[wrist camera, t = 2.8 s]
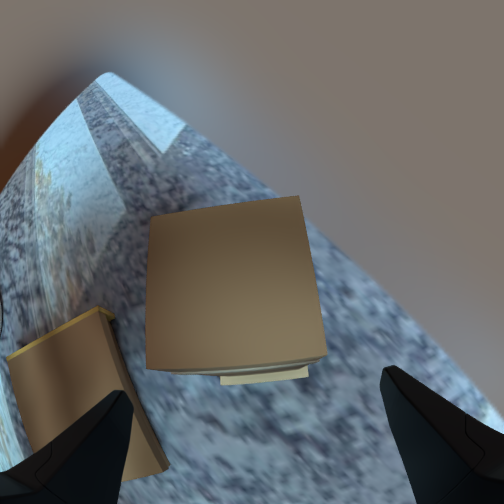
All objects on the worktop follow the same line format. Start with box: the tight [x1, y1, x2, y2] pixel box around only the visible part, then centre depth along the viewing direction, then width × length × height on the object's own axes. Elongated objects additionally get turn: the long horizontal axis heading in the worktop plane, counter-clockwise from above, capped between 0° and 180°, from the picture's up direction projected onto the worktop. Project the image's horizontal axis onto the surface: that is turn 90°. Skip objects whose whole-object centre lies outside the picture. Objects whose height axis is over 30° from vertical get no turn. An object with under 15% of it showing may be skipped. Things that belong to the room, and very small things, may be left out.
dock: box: [6, 306, 170, 482], centre depth 16 cm, size 12×12×2 cm
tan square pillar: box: [145, 196, 327, 385], centre depth 13 cm, size 6×6×13 cm
